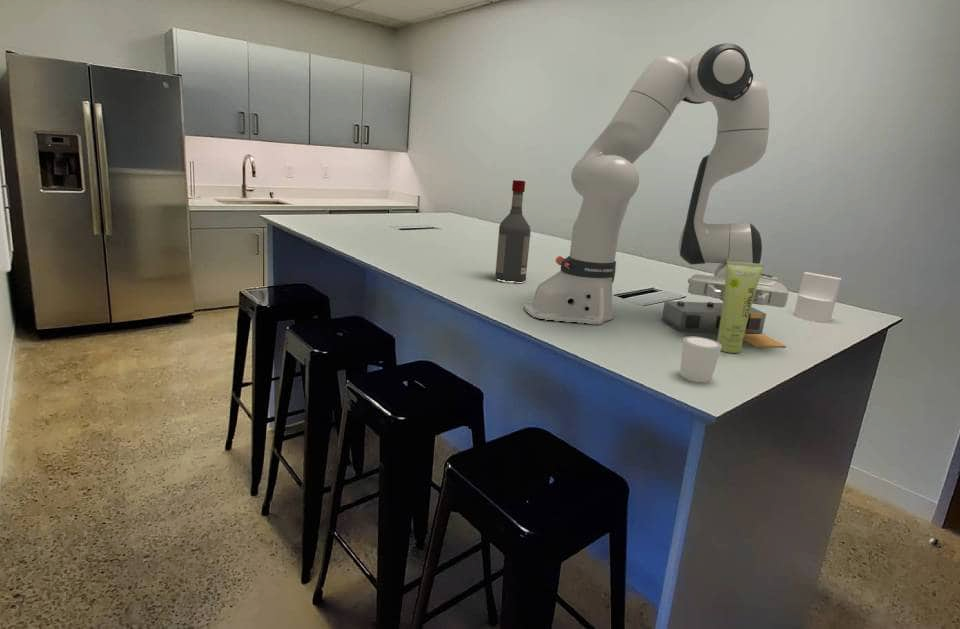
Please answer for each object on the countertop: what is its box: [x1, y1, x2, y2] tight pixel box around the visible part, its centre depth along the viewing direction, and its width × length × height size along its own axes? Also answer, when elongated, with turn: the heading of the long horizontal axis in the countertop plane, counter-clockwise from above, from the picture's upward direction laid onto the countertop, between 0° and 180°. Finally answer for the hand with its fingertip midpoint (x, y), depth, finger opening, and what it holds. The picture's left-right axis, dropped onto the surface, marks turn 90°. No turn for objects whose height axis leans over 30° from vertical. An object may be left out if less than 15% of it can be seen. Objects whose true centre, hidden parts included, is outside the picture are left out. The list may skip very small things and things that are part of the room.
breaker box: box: [661, 300, 767, 334], centre depth 138 cm, size 22×10×6 cm, turn 99°
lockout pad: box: [743, 333, 787, 348], centre depth 130 cm, size 8×8×1 cm
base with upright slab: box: [793, 271, 842, 324], centre depth 154 cm, size 9×9×12 cm
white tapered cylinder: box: [679, 336, 722, 384], centre depth 105 cm, size 7×7×7 cm
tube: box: [716, 261, 765, 354], centre depth 120 cm, size 6×5×20 cm
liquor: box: [495, 179, 532, 282], centre depth 169 cm, size 9×9×30 cm
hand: (738, 297), depth 119 cm, fingers open, 7 cm apart
